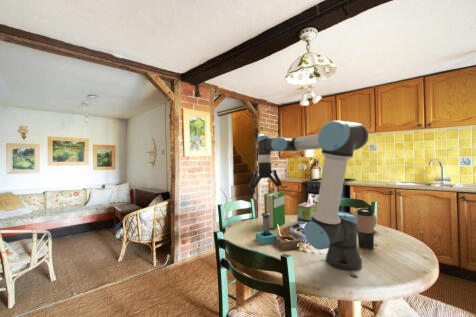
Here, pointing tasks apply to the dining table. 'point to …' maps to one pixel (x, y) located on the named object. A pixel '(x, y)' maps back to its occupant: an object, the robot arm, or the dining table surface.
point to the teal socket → (266, 238)
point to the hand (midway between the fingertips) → (265, 198)
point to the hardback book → (275, 209)
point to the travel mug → (365, 228)
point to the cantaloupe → (373, 217)
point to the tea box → (305, 212)
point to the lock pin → (266, 223)
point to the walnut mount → (286, 242)
